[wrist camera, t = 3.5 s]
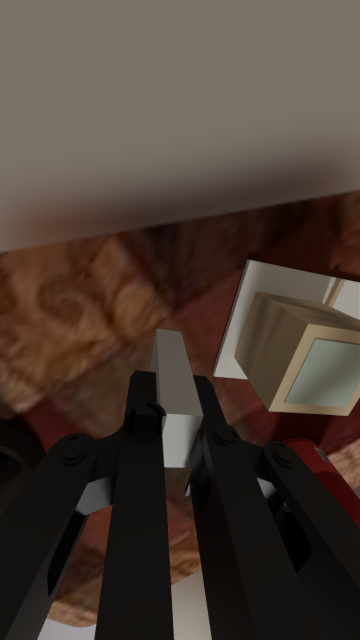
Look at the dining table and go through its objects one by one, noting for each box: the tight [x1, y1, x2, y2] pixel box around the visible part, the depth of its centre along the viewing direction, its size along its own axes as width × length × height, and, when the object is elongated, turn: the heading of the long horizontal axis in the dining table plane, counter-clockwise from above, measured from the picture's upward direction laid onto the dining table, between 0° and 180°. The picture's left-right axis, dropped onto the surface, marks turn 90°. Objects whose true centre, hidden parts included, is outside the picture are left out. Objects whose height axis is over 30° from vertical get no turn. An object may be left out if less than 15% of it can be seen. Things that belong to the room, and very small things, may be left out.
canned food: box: [281, 437, 360, 527], centre depth 26 cm, size 8×8×11 cm
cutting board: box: [212, 259, 360, 379], centre depth 24 cm, size 30×12×1 cm, turn 78°
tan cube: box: [234, 292, 360, 416], centre depth 19 cm, size 7×7×7 cm
